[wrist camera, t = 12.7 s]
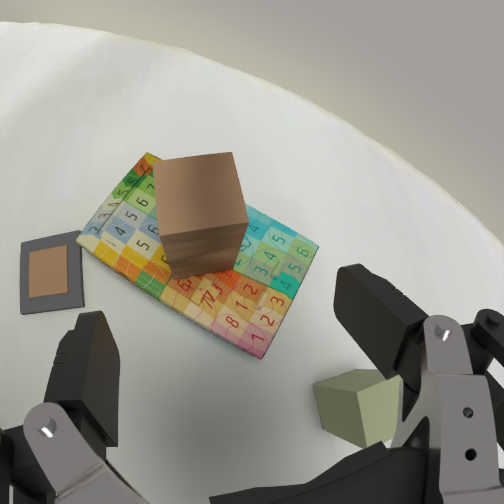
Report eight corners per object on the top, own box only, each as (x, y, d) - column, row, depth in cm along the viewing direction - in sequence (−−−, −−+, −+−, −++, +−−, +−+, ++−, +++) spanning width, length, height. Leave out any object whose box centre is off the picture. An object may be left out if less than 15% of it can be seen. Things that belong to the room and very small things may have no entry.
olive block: (322, 428, 25) (367, 450, 17) (312, 384, 27) (356, 392, 18) (364, 411, 26) (418, 423, 18) (356, 369, 28) (409, 369, 19)
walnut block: (173, 279, 24) (159, 236, 15) (166, 224, 25) (152, 162, 17) (233, 268, 25) (249, 222, 17) (221, 215, 26) (231, 151, 18)
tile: (23, 314, 24) (19, 313, 23) (23, 244, 26) (20, 242, 25) (84, 306, 25) (81, 305, 25) (81, 232, 28) (78, 229, 27)
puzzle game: (264, 359, 23) (71, 236, 23) (254, 358, 27) (88, 253, 28) (322, 242, 27) (145, 146, 28) (306, 258, 31) (151, 172, 32)
